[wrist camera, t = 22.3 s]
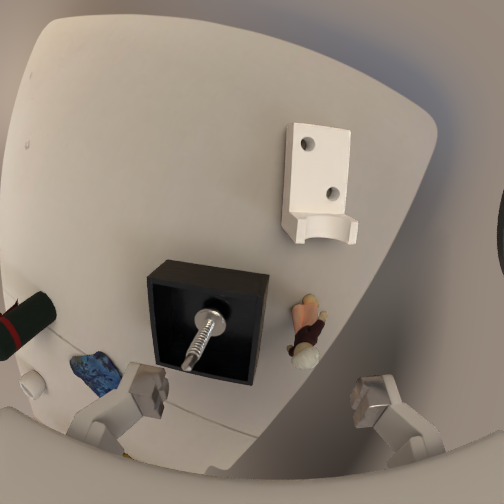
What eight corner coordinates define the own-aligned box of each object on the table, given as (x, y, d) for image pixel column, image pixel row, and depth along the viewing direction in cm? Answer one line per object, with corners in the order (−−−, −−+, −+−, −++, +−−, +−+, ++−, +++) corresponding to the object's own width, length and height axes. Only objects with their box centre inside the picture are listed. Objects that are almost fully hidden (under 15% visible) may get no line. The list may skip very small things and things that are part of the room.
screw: (193, 317, 44) (207, 296, 42) (219, 333, 44) (234, 313, 42) (161, 370, 31) (175, 348, 30) (194, 390, 32) (211, 370, 30)
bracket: (331, 227, 38) (355, 244, 30) (281, 225, 37) (295, 243, 30) (339, 132, 33) (366, 128, 26) (286, 125, 32) (304, 118, 25)
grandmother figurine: (304, 284, 40) (306, 335, 28) (327, 294, 40) (337, 348, 28) (281, 324, 42) (273, 381, 31) (303, 333, 42) (302, 391, 31)
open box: (269, 274, 40) (264, 296, 34) (258, 358, 45) (252, 386, 39) (167, 259, 42) (146, 276, 36) (171, 341, 47) (155, 364, 41)
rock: (67, 357, 56) (63, 362, 54) (104, 347, 51) (100, 352, 49) (101, 399, 59) (98, 404, 57) (143, 395, 55) (140, 401, 53)
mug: (28, 363, 63) (14, 375, 56) (45, 376, 63) (31, 390, 55) (36, 385, 67) (24, 397, 60) (52, 397, 67) (40, 411, 60)
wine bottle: (29, 280, 50) (-61, 341, 22) (56, 302, 50) (-37, 377, 22) (30, 304, 53) (-50, 366, 25) (56, 327, 53) (-25, 400, 25)
